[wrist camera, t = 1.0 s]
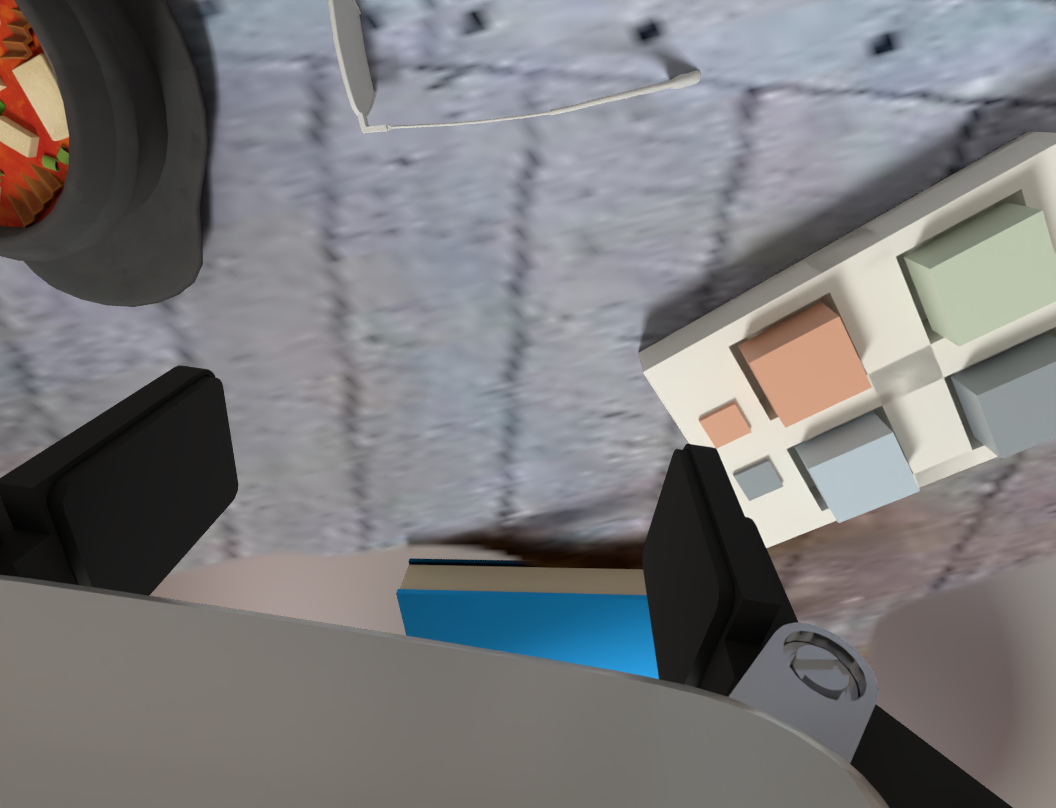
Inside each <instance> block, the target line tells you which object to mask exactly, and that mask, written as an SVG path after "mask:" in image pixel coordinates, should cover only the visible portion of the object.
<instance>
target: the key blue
mask: <svg viewBox="0 0 1056 808" xmlns="http://www.w3.org/2000/svg"><path fill="white" fill-rule="evenodd" d="M795 449H796V451H797V453H798V454H799V456H800V458H801V460H802V462H803V463H804V465H805V467H806V469H807V471H808V472H809V474H810V476H811V478H812V480H813V481H814V483H815V485H816V487H817V488H818V490H819V492H820V494H821V496H822V497H823V499H824V501H825V502H826V504H827V506H828V507H829V509H830V510H831V512H832V514H833V515H834V517H835V518H836V520H837V522H838V523H840V522H843V521H845V520H848V519H850V518H853V517H856V516H858V515H861V514H863V513H866V512H868V511H871V510H873V509H876V508H878V507H881V506H883V505H886V504H888V503H891V502H894V501H896V500H899V499H901V498H904V497H906V496H909V495H911V494H914V493H916V492H919V491H920V489H919V487H918V485H917V483H916V481H915V479H914V477H913V474H912V472H911V470H910V468H909V466H908V464H907V461H906V459H905V457H904V455H903V453H902V451H901V448H900V446H899V444H898V442H897V440H896V438H895V435H894V433H893V432H892V431H891V430H890V429H889V428H888V427H887V426H886V425H885V423H884V422H883V421H882V420H881V419H880V418H879V417H878V416H877V415H876V414H875V413H874V412H870V413H868V414H866V415H864V416H862V417H859V418H857V419H855V420H853V421H850V422H848V423H846V424H844V425H842V426H839V427H837V428H835V429H833V430H831V431H828V432H826V433H824V434H822V435H820V436H817V437H815V438H813V439H811V440H809V441H806V442H804V443H802V444H800V445H798V446H795Z"/></svg>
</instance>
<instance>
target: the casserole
mask: <svg viewBox="0 0 1056 808" xmlns="http://www.w3.org/2000/svg"><path fill="white" fill-rule="evenodd" d="M207 152H208V131H207V115H206V106H205V102H204V98H203V93H202V89H201V85H200V80H199V76H198V71H197V68H196V66H195V63H194V60H193V58H192V55H191V53H190V50H189V48H188V45H187V43H186V40H185V37H184V35H183V32H182V30H181V28H180V26H179V24H178V22H177V20H176V19H175V17H174V15H173V13H172V11H171V10H170V8H169V6H168V4H167V2H166V1H165V0H0V256H2V257H6V258H11V259H15V260H21V261H24V262H25V263H26V264H27V265H28V266H29V267H30V269H31V270H32V271H33V272H34V273H35V274H37V275H38V276H39V277H40V278H42V279H43V280H44V281H46V282H47V283H48V284H49V285H51V286H53V287H54V288H56V289H58V290H60V291H63V292H65V293H68V294H70V295H72V296H75V297H77V298H80V299H82V300H87V301H91V302H96V303H100V304H104V305H112V306H130V307H135V306H142V305H148V304H154V303H159V302H162V301H164V300H166V299H169V298H171V297H174V296H176V295H179V294H180V293H181V292H183V291H184V290H185V289H186V288H188V287H189V286H190V285H191V284H193V283H194V282H195V280H196V278H197V275H198V273H199V271H200V269H201V267H202V265H203V253H202V228H201V214H200V203H201V196H202V189H203V182H204V175H205V167H206V160H207Z"/></svg>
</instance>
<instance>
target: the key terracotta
mask: <svg viewBox="0 0 1056 808" xmlns="http://www.w3.org/2000/svg"><path fill="white" fill-rule="evenodd" d="M738 347H739V349H740V351H741V352H742V354H743V356H744V358H745V360H746V361H747V363H748V365H749V367H750V369H751V370H752V372H753V374H754V376H755V377H756V379H757V381H758V383H759V385H760V386H761V388H762V390H763V392H764V394H765V395H766V397H767V399H768V401H769V403H770V404H771V406H772V408H773V409H774V411H775V413H776V414H777V416H778V417H779V419H780V420H781V422H782V423H783V425H784V426H785V428H786V427H788V426H790V425H793V424H795V423H797V422H799V421H801V420H803V419H805V418H808V417H810V416H812V415H814V414H816V413H818V412H820V411H823V410H825V409H827V408H829V407H831V406H833V405H835V404H837V403H840V402H842V401H844V400H846V399H848V398H850V397H852V396H855V395H857V394H859V393H861V392H863V391H865V390H867V389H870V388H872V386H871V384H870V381H869V379H868V377H867V375H866V373H865V371H864V368H863V366H862V364H861V362H860V360H859V358H858V355H857V353H856V351H855V349H854V347H853V345H852V343H851V340H850V338H849V336H848V334H847V332H846V330H845V327H844V325H843V323H842V321H841V319H840V317H839V316H838V315H837V314H836V313H835V312H833V311H832V310H831V309H830V308H829V307H827V306H826V305H825V304H824V303H822V302H819V303H817V304H815V305H813V306H811V307H809V308H808V309H806V310H804V311H802V312H800V313H798V314H796V315H795V316H793V317H791V318H789V319H787V320H785V321H783V322H781V323H780V324H778V325H776V326H774V327H772V328H770V329H768V330H767V331H765V332H763V333H761V334H759V335H757V336H755V337H753V338H752V339H750V340H748V341H746V342H744V343H742V344H740V345H739V346H738Z"/></svg>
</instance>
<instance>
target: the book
mask: <svg viewBox="0 0 1056 808" xmlns="http://www.w3.org/2000/svg"><path fill="white" fill-rule="evenodd" d="M408 562H409V566H408V569H407V571H406V574H405V577H404V579H403V582H402V585H401V587H400V589H398V590H397V593H396V594H397V598H398V602H399V606H400V611H401V615H402V619H403V623H404V627H405V632H406V636H412V637H418V638H424V639H430V640H436V641H442V642H448V643H455V644H461V645H467V646H473V647H479V648H485V649H491V650H497V651H504V652H510V653H516V654H522V655H528V656H534V657H540V658H547V659H553V660H558V661H564V662H569V663H575V664H580V665H586V666H592V667H598V668H604V669H610V670H615V671H621V672H626V673H631V674H636V675H642V676H646V677H651V678H655V679H659V676H658V669H657V662H656V655H655V648H654V642H653V635H652V628H651V621H650V614H649V607H648V600H647V593H646V587H645V580H644V573H643V570H642V569H592V568H543V567H531V566H529V565H527V564H526V563H523V562H519V561H517V560H465V559H414V558H411V559H409V561H408Z"/></svg>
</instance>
